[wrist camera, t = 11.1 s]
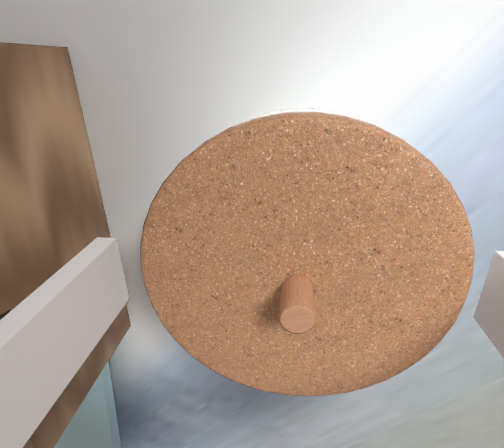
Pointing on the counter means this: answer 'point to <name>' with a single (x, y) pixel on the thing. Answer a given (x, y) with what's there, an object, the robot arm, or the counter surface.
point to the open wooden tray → (47, 200)
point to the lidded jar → (307, 253)
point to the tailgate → (94, 418)
